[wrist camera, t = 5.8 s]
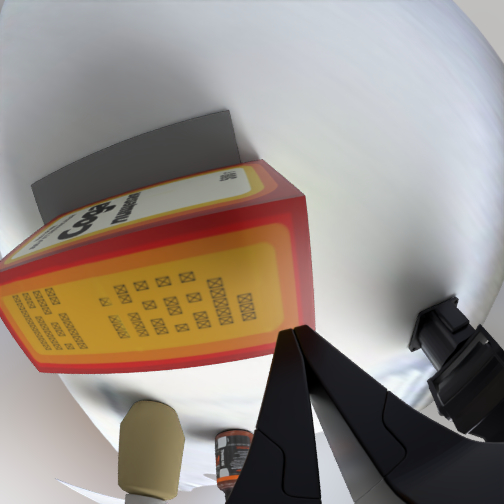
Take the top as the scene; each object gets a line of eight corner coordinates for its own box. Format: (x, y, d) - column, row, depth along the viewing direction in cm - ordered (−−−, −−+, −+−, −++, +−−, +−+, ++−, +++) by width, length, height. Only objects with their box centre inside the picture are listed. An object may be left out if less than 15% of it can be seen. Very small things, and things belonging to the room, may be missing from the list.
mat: (268, 293, 22) (269, 296, 21) (98, 326, 22) (97, 328, 21) (229, 110, 15) (229, 109, 15) (32, 184, 15) (30, 185, 15)
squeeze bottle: (132, 386, 26) (111, 530, 10) (196, 407, 28) (198, 543, 12) (119, 411, 28) (102, 527, 12) (173, 429, 31) (171, 541, 15)
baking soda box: (276, 249, 20) (85, 288, 19) (262, 159, 17) (55, 216, 16) (315, 343, 11) (36, 372, 11) (305, 195, 8) (-23, 280, 8)
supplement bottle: (208, 431, 32) (211, 501, 22) (249, 425, 32) (259, 497, 21) (221, 445, 34) (226, 506, 24) (258, 439, 34) (268, 502, 24)
